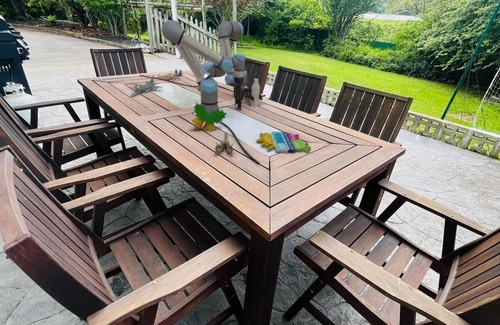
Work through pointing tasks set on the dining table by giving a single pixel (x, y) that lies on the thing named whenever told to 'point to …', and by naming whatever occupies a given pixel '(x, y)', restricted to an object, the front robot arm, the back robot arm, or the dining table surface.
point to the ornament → (207, 117)
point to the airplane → (145, 87)
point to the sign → (283, 142)
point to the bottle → (255, 93)
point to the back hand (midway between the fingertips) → (257, 99)
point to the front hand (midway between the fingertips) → (237, 107)
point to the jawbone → (224, 145)
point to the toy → (172, 75)
